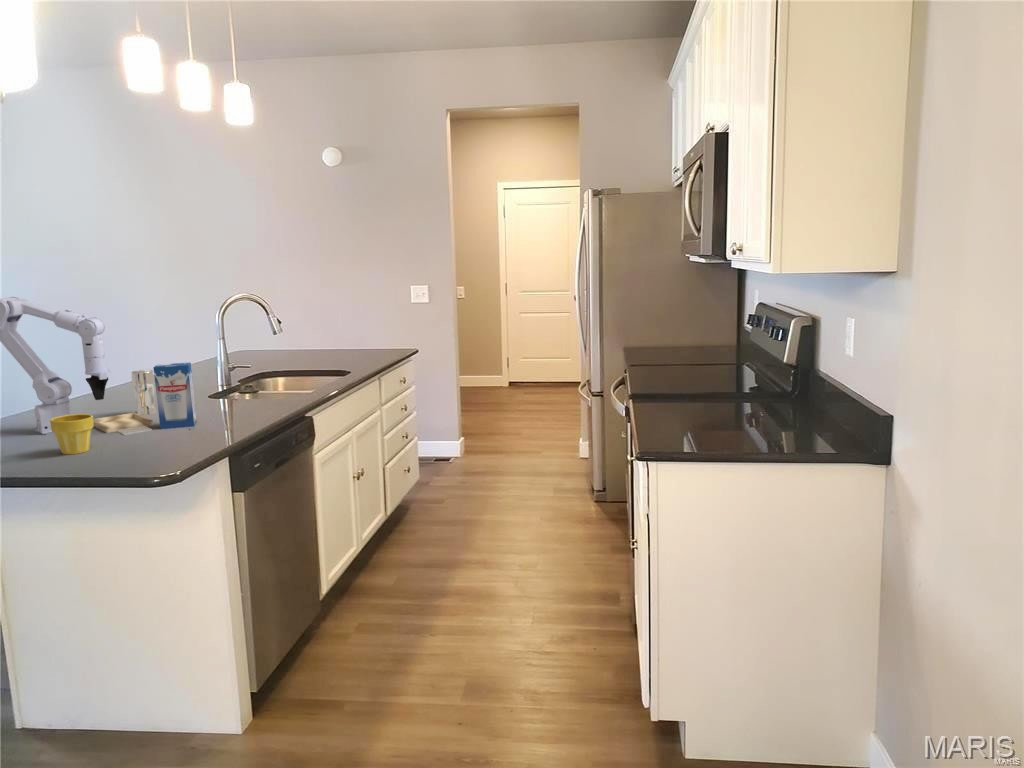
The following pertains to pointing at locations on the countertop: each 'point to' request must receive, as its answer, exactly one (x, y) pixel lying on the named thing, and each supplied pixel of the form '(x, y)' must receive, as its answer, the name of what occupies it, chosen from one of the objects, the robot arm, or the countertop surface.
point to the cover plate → (134, 430)
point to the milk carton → (175, 395)
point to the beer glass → (144, 391)
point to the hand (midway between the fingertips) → (99, 399)
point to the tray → (121, 422)
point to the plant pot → (73, 432)
